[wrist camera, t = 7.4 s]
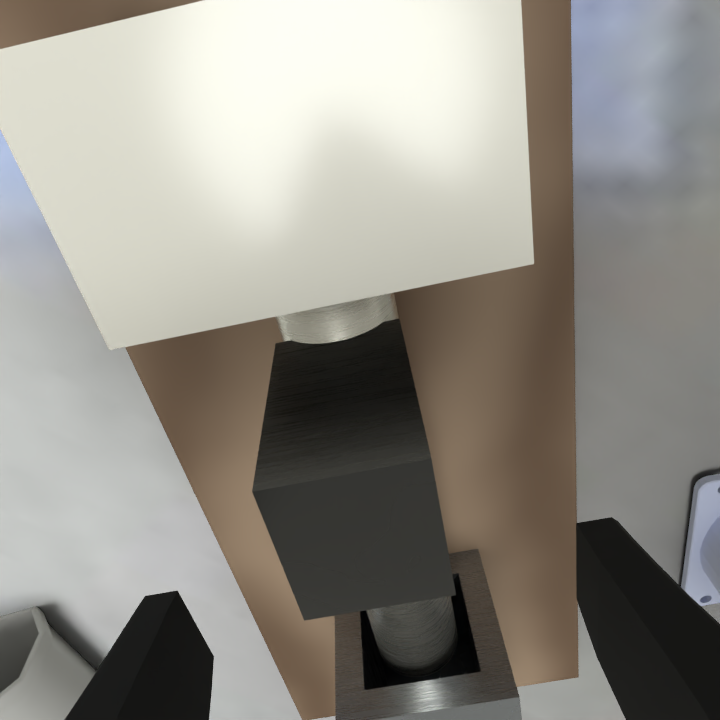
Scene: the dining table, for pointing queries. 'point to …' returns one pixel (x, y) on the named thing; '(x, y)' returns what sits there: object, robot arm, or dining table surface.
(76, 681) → the tube
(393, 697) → the sleeve
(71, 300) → the dining table surface
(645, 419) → the dining table surface
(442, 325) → the base board
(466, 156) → the cream rectangular block
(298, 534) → the inner tube
